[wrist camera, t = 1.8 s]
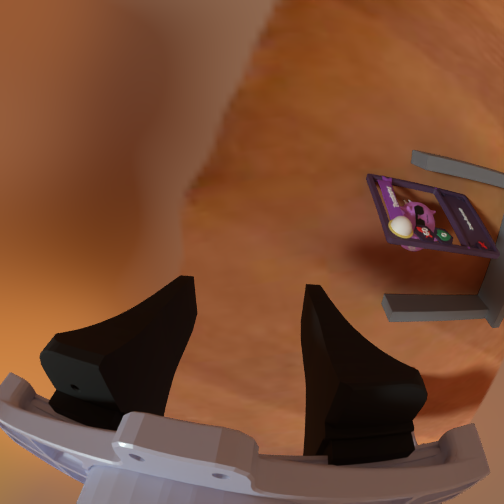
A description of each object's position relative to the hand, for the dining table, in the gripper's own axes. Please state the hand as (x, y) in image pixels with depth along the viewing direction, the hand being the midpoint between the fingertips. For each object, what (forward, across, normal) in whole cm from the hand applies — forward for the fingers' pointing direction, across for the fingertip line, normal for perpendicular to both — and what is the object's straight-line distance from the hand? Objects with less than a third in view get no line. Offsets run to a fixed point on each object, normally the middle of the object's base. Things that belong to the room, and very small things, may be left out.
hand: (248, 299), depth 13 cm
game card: (+10, -12, -2) cm, 15 cm away
